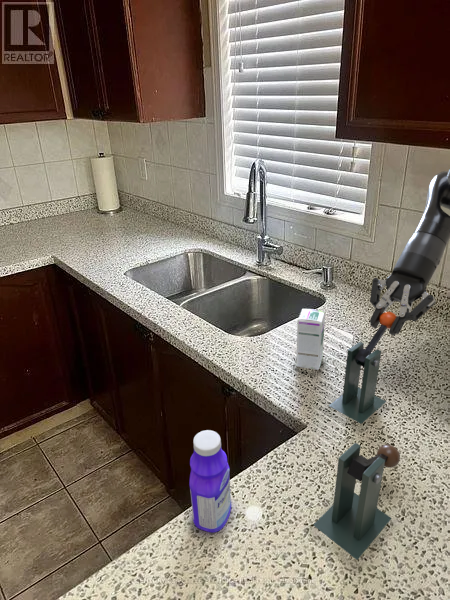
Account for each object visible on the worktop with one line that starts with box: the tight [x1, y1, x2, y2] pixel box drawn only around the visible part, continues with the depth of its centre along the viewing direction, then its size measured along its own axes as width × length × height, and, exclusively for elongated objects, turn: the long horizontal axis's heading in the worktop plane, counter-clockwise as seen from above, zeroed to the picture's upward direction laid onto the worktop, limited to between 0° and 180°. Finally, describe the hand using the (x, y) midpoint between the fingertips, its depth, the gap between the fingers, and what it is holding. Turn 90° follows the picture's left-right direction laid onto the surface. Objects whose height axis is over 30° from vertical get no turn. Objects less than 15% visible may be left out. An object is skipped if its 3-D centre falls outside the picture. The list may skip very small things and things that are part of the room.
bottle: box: [188, 429, 232, 534], centre depth 70 cm, size 7×6×17 cm
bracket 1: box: [328, 341, 387, 425], centre depth 93 cm, size 10×8×15 cm
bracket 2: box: [312, 442, 392, 561], centre depth 68 cm, size 10×8×15 cm
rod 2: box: [347, 444, 401, 482], centre depth 69 cm, size 13×4×4 cm, turn 134°
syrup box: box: [295, 308, 326, 371], centre depth 108 cm, size 6×6×14 cm
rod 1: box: [354, 311, 397, 368], centre depth 92 cm, size 13×4×4 cm
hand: (382, 330), depth 93 cm, fingers closed on rod 1, 3 cm apart
